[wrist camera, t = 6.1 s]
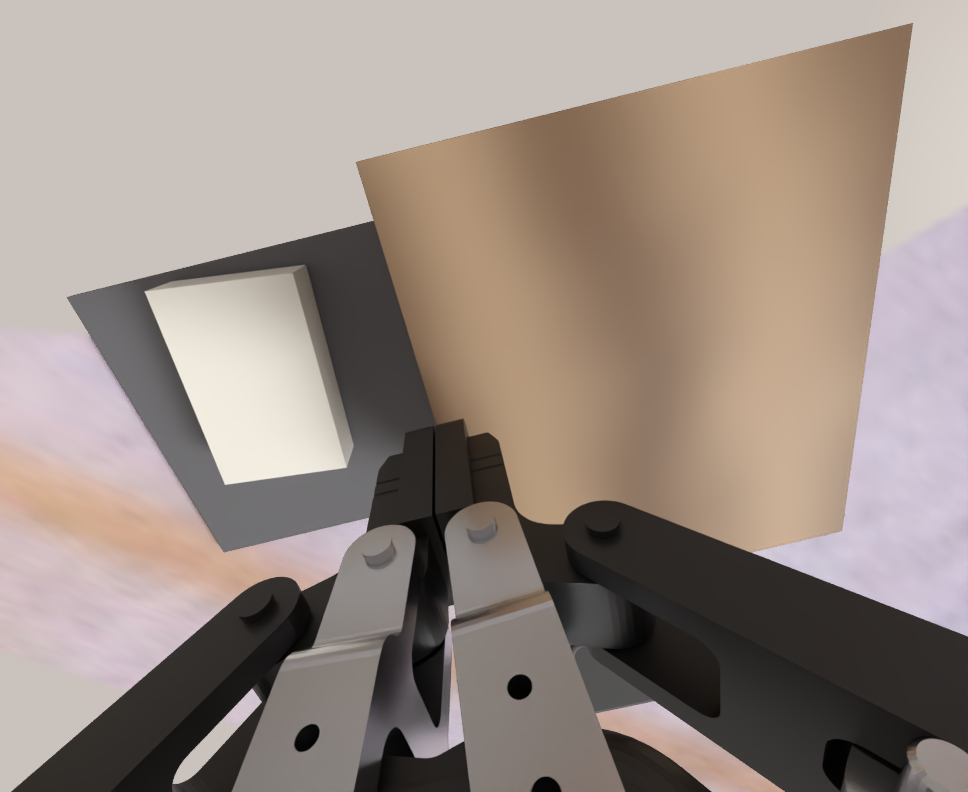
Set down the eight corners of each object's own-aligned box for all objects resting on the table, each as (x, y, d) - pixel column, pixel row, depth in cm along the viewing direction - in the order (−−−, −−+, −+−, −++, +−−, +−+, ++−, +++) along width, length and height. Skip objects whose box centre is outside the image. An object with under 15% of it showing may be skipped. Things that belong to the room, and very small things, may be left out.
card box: (144, 291, 16) (174, 280, 18) (225, 484, 19) (243, 458, 21) (292, 273, 16) (307, 263, 18) (346, 467, 19) (354, 443, 21)
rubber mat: (402, 213, 18) (401, 214, 17) (478, 486, 23) (479, 490, 23) (74, 295, 18) (66, 297, 18) (227, 546, 23) (223, 552, 23)
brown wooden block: (710, 91, 17) (912, 22, 10) (713, 420, 23) (841, 530, 16) (390, 170, 17) (356, 162, 10) (476, 478, 23) (494, 613, 16)
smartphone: (566, 646, 28) (811, 594, 28) (562, 633, 29) (800, 582, 29) (581, 718, 31) (802, 672, 31) (578, 704, 32) (793, 659, 32)
